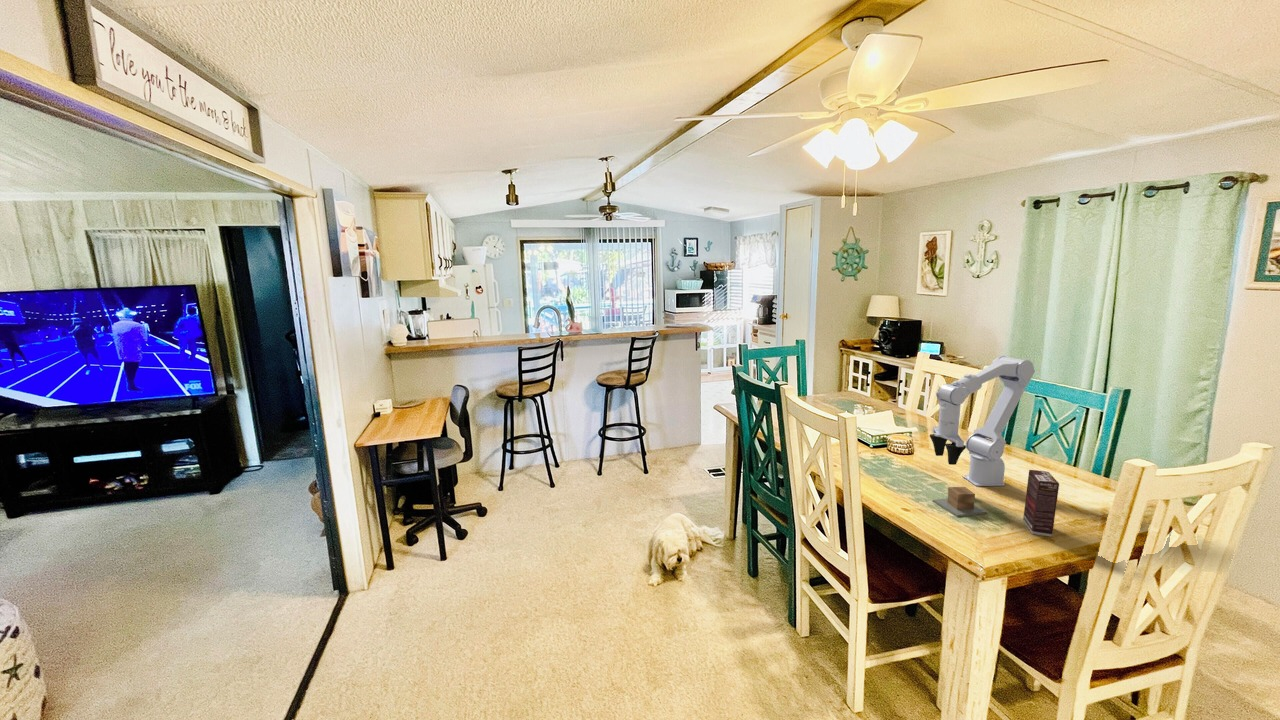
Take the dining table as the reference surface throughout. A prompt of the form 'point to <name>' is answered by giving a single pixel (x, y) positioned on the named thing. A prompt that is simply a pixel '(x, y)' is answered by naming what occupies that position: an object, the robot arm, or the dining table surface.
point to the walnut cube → (961, 498)
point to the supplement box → (1040, 502)
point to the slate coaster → (961, 512)
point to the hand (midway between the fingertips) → (945, 459)
